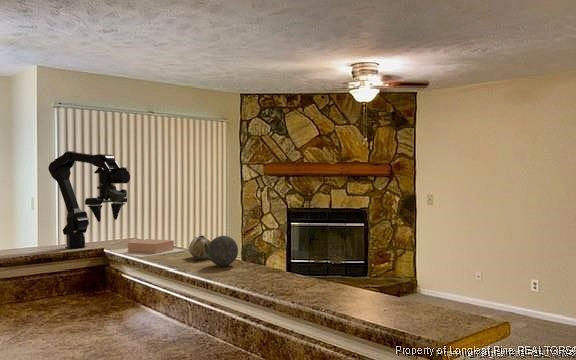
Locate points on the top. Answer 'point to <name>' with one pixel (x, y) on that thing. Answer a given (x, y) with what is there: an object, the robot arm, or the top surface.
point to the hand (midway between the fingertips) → (107, 220)
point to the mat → (125, 251)
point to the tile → (151, 246)
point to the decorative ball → (223, 250)
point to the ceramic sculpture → (199, 247)
